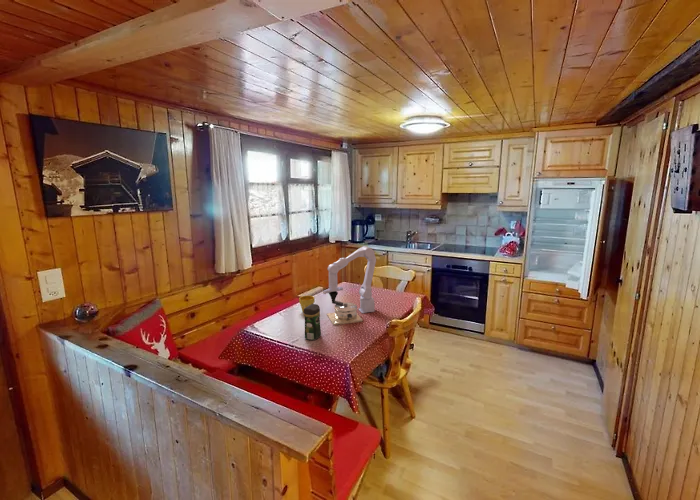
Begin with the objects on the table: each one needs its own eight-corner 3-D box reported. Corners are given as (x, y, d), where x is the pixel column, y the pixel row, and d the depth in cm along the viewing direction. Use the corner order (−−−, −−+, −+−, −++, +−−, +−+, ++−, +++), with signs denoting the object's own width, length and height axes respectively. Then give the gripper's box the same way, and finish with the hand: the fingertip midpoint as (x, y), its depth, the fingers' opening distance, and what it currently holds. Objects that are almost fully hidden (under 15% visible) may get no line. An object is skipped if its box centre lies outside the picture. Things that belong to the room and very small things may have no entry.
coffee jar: (310, 332, 191) (309, 302, 188) (322, 334, 188) (321, 303, 185) (302, 339, 182) (300, 307, 179) (314, 341, 179) (313, 309, 176)
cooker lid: (361, 307, 213) (361, 303, 213) (347, 313, 202) (347, 309, 201) (340, 301, 224) (340, 297, 224) (325, 307, 213) (325, 303, 213)
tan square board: (352, 309, 227) (352, 301, 226) (362, 321, 206) (362, 312, 205) (325, 312, 221) (325, 304, 220) (333, 325, 201) (333, 316, 199)
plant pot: (312, 314, 219) (311, 300, 217) (297, 313, 221) (296, 299, 219) (316, 309, 229) (316, 295, 227) (302, 308, 231) (302, 295, 229)
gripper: (338, 279, 221) (338, 298, 224) (320, 283, 213) (320, 303, 215) (344, 281, 216) (345, 301, 218) (326, 285, 207) (326, 306, 209)
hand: (333, 302), depth 216 cm, fingers closed, pressing on cooker lid
